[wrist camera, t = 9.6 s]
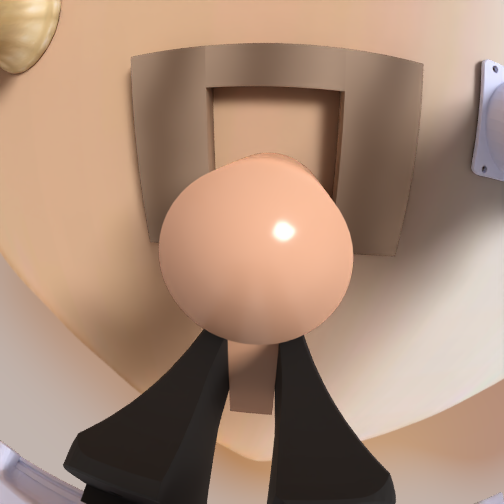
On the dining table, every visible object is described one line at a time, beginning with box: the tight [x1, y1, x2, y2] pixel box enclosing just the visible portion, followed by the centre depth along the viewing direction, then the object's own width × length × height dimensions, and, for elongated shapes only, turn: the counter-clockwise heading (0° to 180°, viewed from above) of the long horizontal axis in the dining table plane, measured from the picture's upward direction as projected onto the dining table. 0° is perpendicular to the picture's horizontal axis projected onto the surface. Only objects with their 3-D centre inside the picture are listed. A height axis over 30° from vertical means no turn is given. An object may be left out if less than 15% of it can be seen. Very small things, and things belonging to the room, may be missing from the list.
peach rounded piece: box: [159, 153, 353, 415], centre depth 11 cm, size 9×5×6 cm, turn 0°
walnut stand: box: [131, 43, 423, 256], centre depth 16 cm, size 16×12×2 cm
